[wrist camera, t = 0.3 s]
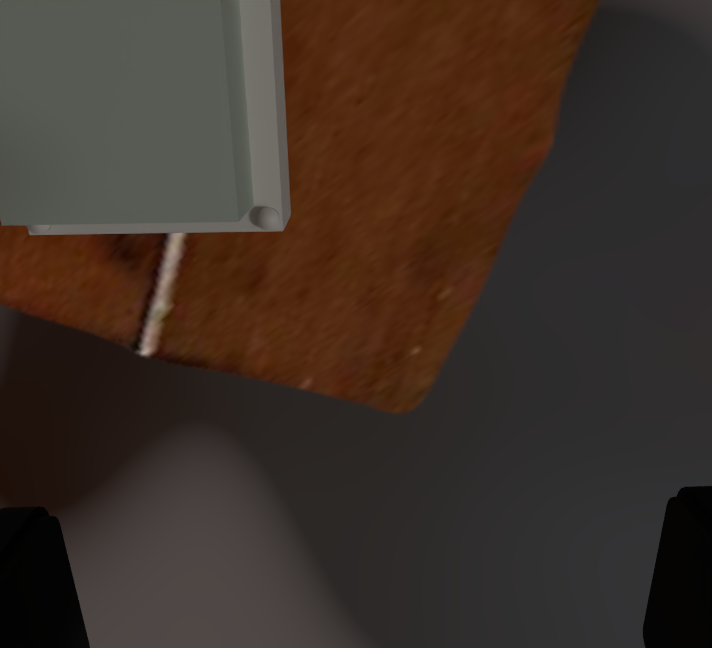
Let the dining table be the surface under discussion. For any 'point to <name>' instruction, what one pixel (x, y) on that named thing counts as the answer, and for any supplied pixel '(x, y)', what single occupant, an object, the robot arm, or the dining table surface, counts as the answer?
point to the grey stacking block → (142, 116)
